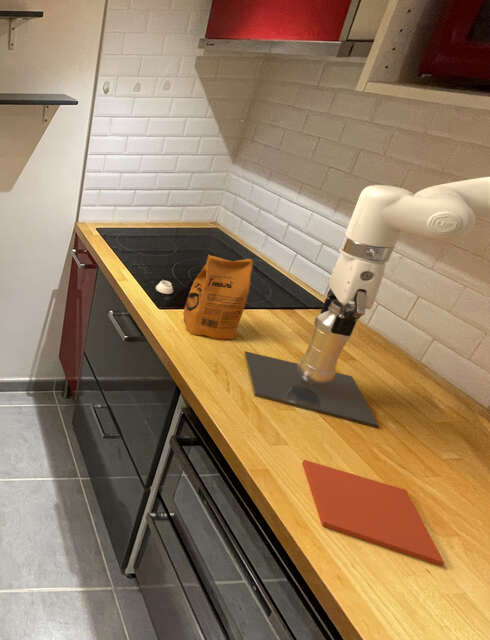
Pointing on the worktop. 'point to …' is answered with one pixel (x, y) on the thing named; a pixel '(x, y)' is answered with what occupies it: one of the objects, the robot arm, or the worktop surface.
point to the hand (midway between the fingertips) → (334, 323)
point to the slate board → (307, 390)
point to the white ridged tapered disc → (164, 287)
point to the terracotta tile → (370, 511)
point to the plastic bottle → (323, 349)
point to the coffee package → (218, 298)
